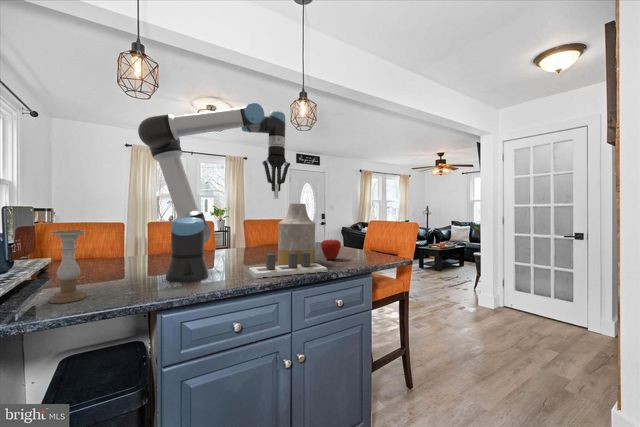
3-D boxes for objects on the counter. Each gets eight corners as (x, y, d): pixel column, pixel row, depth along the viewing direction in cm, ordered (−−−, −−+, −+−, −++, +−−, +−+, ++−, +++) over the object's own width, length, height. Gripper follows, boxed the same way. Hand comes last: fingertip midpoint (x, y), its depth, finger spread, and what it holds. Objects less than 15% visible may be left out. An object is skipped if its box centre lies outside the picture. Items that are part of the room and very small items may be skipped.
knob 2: (290, 267, 128) (291, 253, 128) (288, 266, 131) (288, 252, 131) (297, 267, 129) (297, 253, 129) (294, 265, 133) (294, 252, 133)
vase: (308, 268, 138) (309, 203, 137) (271, 266, 143) (272, 202, 142) (318, 262, 156) (319, 204, 155) (286, 259, 160) (287, 203, 160)
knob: (303, 266, 131) (304, 253, 131) (300, 265, 134) (301, 252, 134) (310, 266, 132) (310, 252, 132) (306, 264, 135) (307, 251, 135)
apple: (331, 257, 170) (332, 236, 170) (344, 260, 162) (345, 238, 162) (316, 259, 163) (317, 237, 163) (329, 262, 155) (330, 239, 155)
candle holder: (44, 299, 87) (44, 230, 87) (81, 293, 94) (81, 229, 94) (54, 305, 82) (54, 232, 82) (92, 298, 89) (92, 231, 89)
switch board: (254, 278, 117) (254, 272, 117) (248, 272, 128) (248, 266, 128) (327, 272, 131) (327, 267, 131) (316, 267, 142) (316, 262, 142)
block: (268, 269, 124) (268, 255, 124) (266, 267, 127) (266, 253, 127) (275, 268, 125) (275, 254, 125) (272, 267, 128) (273, 253, 128)
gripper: (264, 143, 129) (263, 197, 130) (292, 146, 135) (292, 198, 135) (260, 146, 136) (259, 198, 136) (287, 149, 141) (286, 199, 142)
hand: (275, 198), depth 136 cm, fingers closed
